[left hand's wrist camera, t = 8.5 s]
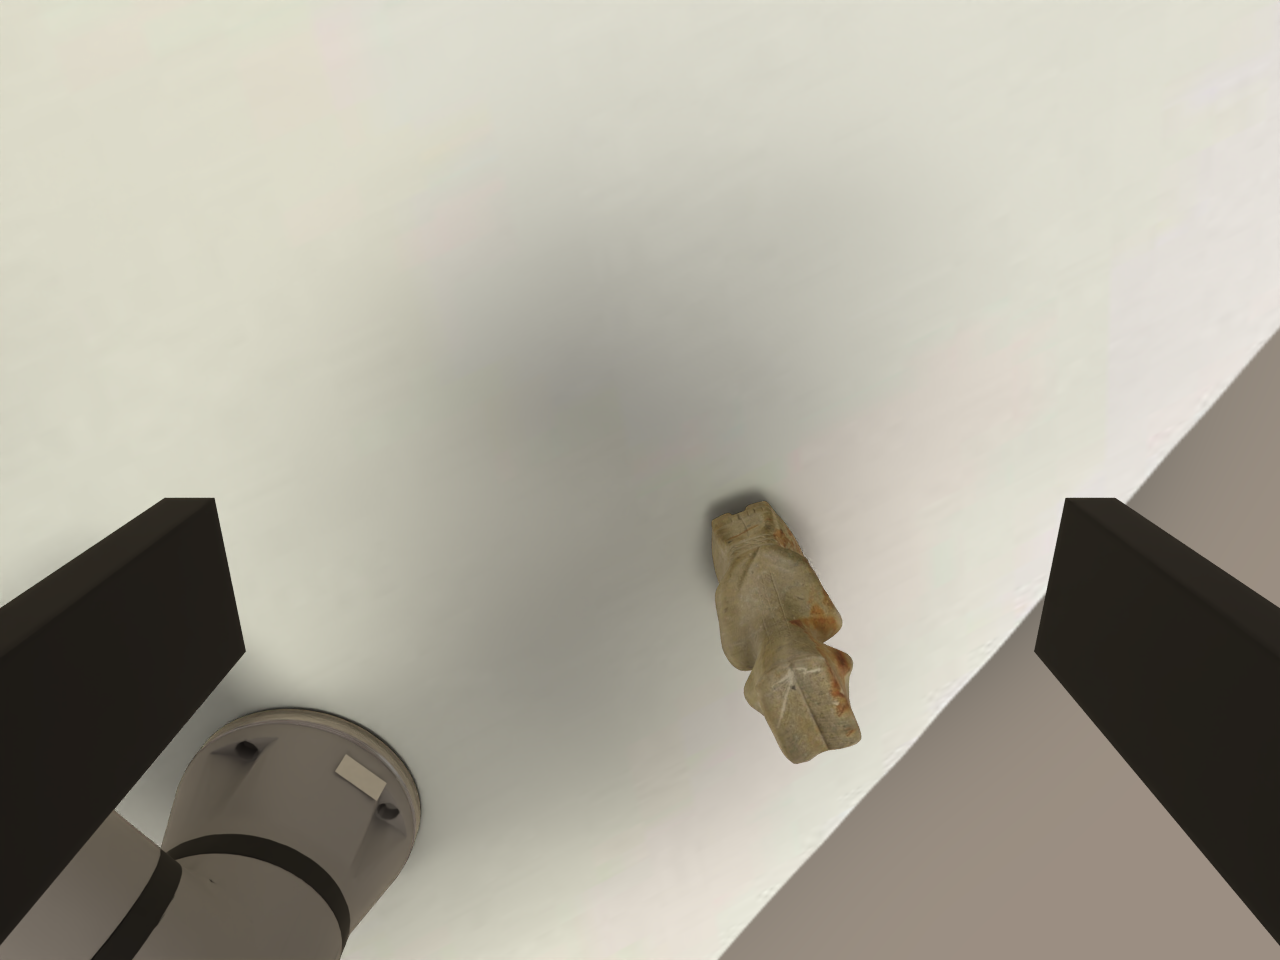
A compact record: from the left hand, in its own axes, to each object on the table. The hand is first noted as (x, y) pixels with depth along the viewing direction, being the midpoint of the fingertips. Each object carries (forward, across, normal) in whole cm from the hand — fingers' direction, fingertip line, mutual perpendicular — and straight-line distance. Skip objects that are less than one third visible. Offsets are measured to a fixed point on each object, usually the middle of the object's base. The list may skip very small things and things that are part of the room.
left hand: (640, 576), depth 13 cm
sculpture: (+31, -7, +14) cm, 35 cm away
